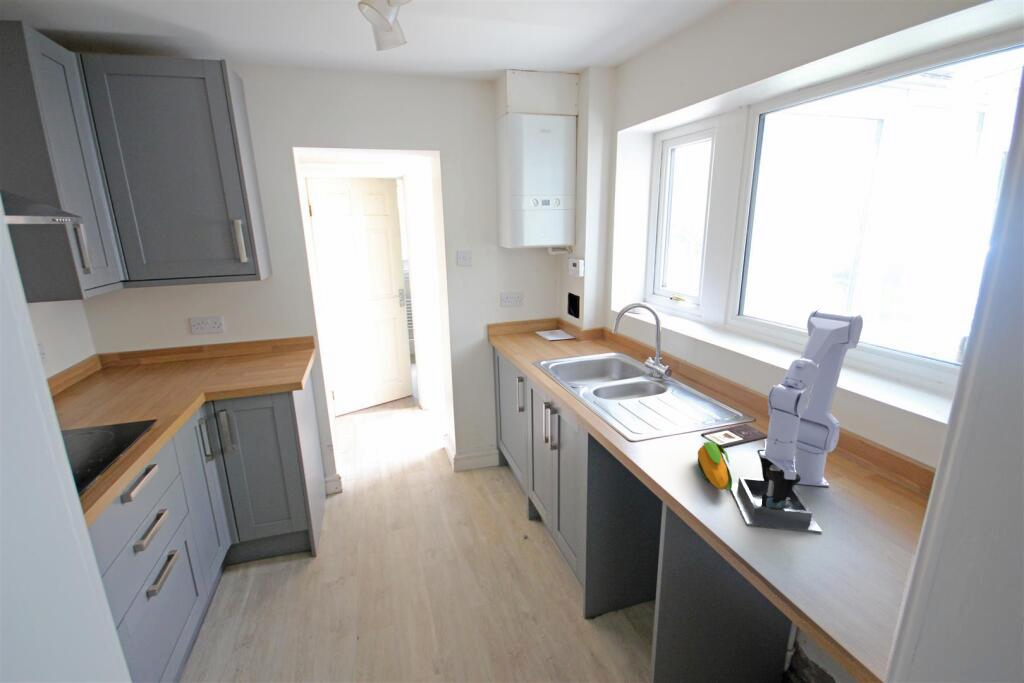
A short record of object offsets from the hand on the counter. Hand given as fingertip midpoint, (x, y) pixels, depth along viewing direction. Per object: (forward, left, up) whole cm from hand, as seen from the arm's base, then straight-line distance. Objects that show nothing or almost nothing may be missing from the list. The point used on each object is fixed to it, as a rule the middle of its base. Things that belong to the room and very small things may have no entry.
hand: (773, 489), depth 106 cm
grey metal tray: (0, 0, -5) cm, 5 cm away
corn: (-11, -10, -5) cm, 16 cm away
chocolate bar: (-36, +1, -5) cm, 37 cm away
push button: (0, +1, -4) cm, 4 cm away
